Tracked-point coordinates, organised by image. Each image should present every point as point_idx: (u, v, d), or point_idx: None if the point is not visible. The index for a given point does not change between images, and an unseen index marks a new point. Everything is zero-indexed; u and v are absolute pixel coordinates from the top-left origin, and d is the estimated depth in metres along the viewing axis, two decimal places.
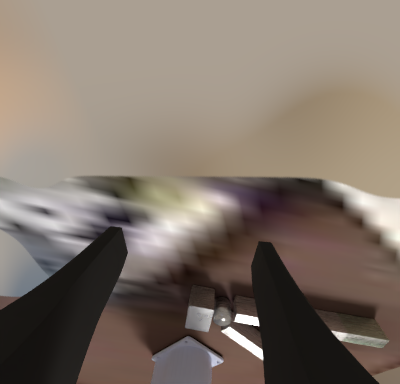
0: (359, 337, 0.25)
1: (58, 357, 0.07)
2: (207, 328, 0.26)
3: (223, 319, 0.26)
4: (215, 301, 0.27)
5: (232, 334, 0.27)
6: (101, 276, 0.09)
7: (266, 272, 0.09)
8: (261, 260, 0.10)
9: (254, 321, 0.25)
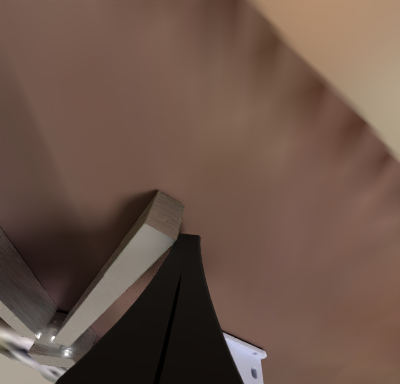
0: None
1: None
2: (66, 359, 0.19)
3: (44, 344, 0.19)
4: None
5: (65, 340, 0.18)
6: None
7: None
8: None
9: (17, 325, 0.17)
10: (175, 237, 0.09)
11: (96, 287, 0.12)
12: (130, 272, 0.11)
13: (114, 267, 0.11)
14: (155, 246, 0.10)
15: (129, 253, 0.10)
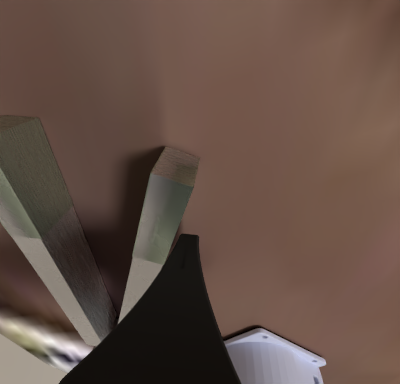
0: (1, 211, 0.09)
1: None
2: None
3: None
4: None
5: None
6: None
7: None
8: None
9: (88, 334, 0.16)
10: (191, 184, 0.08)
11: (130, 274, 0.11)
12: (158, 245, 0.09)
13: (139, 244, 0.10)
14: (173, 202, 0.08)
15: (147, 221, 0.09)
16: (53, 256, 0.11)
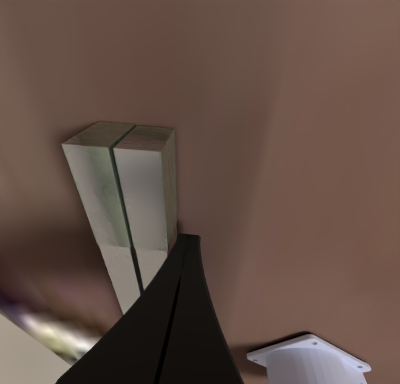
0: (97, 220, 0.09)
1: None
2: None
3: None
4: None
5: None
6: None
7: None
8: None
9: None
10: (159, 150, 0.07)
11: (141, 269, 0.11)
12: (153, 230, 0.09)
13: (135, 233, 0.09)
14: (148, 176, 0.07)
15: (132, 204, 0.08)
16: (134, 264, 0.11)
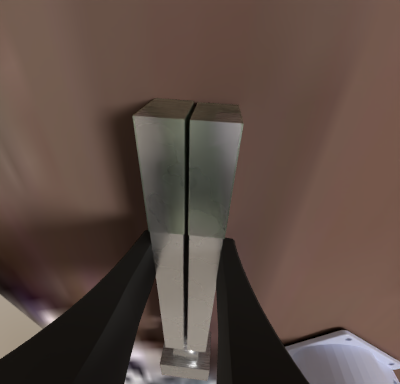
0: (154, 204, 0.08)
1: (112, 364, 0.07)
2: (202, 370, 0.18)
3: (182, 356, 0.18)
4: None
5: (197, 344, 0.16)
6: (142, 280, 0.09)
7: (222, 267, 0.09)
8: (220, 256, 0.10)
9: (174, 336, 0.16)
10: (240, 122, 0.06)
11: (190, 258, 0.10)
12: (214, 215, 0.08)
13: (193, 218, 0.09)
14: (222, 153, 0.07)
15: (197, 185, 0.08)
16: (183, 253, 0.10)
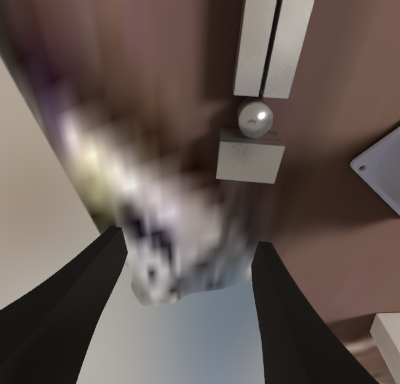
0: None
1: (58, 357, 0.07)
2: (275, 148, 0.14)
3: (252, 121, 0.14)
4: None
5: (282, 71, 0.12)
6: (101, 275, 0.09)
7: (266, 272, 0.09)
8: (261, 260, 0.10)
9: (254, 48, 0.11)
10: None
11: None
12: None
13: None
14: None
15: None
16: None
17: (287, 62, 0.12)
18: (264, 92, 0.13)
